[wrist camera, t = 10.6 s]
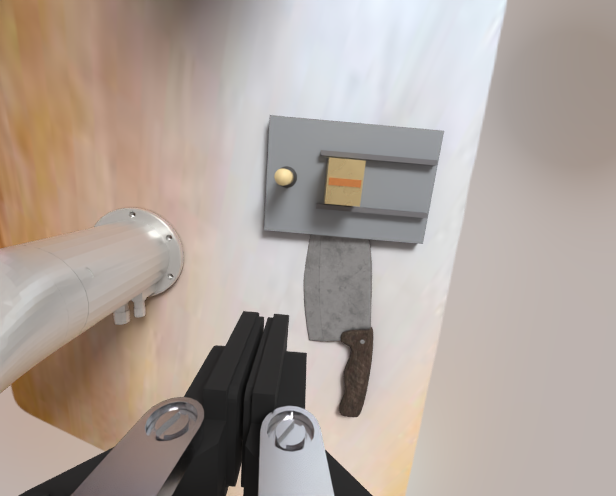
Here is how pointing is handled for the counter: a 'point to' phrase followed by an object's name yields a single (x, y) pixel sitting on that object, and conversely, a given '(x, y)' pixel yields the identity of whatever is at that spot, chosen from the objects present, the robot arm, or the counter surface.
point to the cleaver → (342, 307)
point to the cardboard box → (344, 181)
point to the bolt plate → (376, 184)
